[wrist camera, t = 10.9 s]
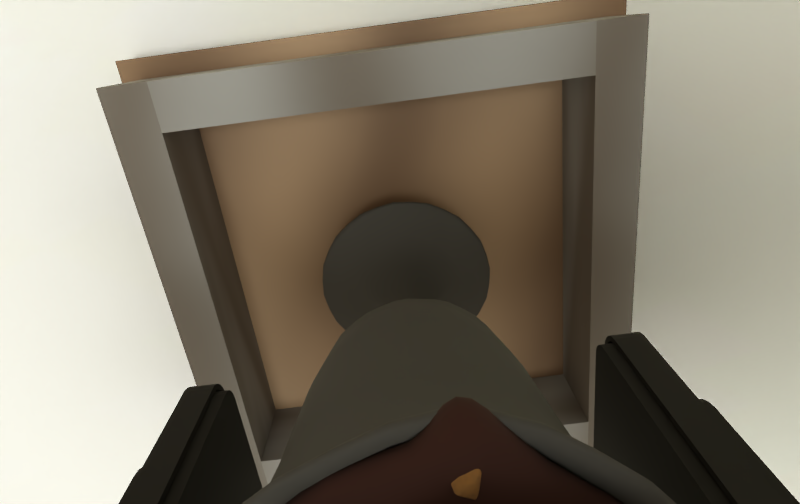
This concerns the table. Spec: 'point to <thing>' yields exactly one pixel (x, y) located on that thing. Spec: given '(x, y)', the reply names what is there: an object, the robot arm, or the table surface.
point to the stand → (391, 186)
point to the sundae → (429, 387)
